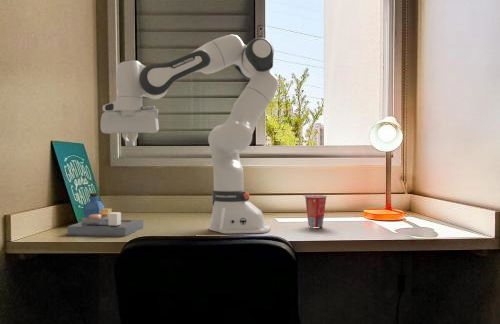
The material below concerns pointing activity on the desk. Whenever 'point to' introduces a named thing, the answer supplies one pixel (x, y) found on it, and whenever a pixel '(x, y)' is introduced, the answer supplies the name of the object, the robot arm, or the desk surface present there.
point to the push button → (95, 216)
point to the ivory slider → (114, 218)
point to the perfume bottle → (93, 205)
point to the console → (104, 227)
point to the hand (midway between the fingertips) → (130, 145)
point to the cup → (315, 209)
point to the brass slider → (105, 211)
